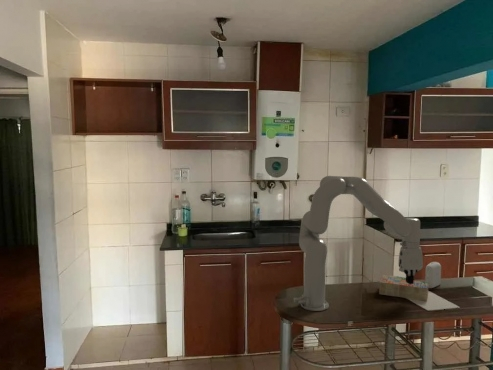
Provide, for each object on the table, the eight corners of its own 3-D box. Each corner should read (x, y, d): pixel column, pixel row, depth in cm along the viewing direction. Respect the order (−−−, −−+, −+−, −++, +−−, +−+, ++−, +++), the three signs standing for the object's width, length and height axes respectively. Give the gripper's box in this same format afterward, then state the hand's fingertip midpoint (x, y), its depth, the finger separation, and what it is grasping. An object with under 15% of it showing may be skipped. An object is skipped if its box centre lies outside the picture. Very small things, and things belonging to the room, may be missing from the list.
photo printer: (432, 289, 191) (432, 265, 190) (423, 286, 194) (424, 263, 193) (441, 284, 197) (442, 261, 196) (433, 282, 200) (434, 259, 199)
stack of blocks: (427, 301, 173) (428, 293, 184) (427, 288, 173) (429, 280, 183) (378, 294, 183) (382, 286, 194) (378, 281, 183) (383, 274, 194)
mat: (427, 311, 163) (427, 310, 163) (393, 290, 189) (393, 289, 189) (459, 308, 167) (459, 307, 167) (421, 288, 192) (421, 287, 192)
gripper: (401, 247, 169) (400, 287, 170) (430, 245, 172) (429, 284, 173) (391, 243, 176) (390, 281, 178) (419, 242, 179) (418, 279, 181)
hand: (409, 283), depth 176 cm, fingers closed
